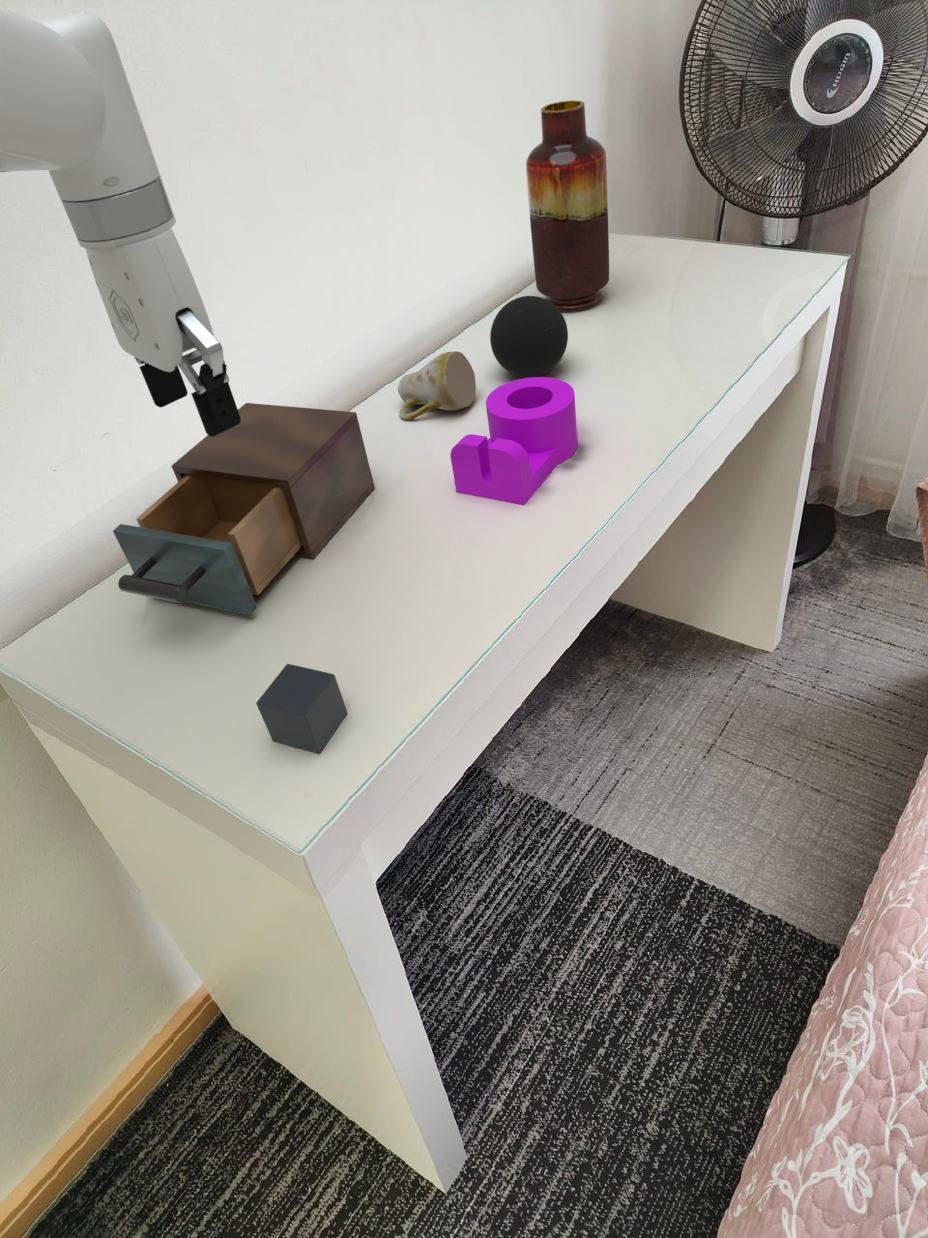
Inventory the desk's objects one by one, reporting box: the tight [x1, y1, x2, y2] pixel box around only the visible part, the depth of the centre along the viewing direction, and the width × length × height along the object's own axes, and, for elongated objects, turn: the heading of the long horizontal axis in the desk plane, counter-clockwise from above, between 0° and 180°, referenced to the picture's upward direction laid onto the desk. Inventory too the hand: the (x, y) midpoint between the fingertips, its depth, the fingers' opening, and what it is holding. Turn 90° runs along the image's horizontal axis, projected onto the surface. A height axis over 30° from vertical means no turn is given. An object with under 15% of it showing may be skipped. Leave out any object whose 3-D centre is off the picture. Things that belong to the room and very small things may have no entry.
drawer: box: [112, 474, 303, 616], centre depth 83 cm, size 17×13×8 cm
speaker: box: [489, 295, 569, 378], centre depth 109 cm, size 10×10×10 cm
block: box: [255, 663, 348, 755], centre depth 68 cm, size 5×5×5 cm
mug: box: [397, 350, 477, 421], centre depth 107 cm, size 8×10×10 cm
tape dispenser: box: [449, 376, 579, 506], centre depth 94 cm, size 16×10×6 cm, turn 150°
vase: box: [525, 100, 610, 313], centre depth 121 cm, size 11×11×26 cm
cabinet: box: [171, 402, 376, 560], centre depth 92 cm, size 14×15×10 cm
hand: (197, 414), depth 76 cm, fingers open, 9 cm apart
